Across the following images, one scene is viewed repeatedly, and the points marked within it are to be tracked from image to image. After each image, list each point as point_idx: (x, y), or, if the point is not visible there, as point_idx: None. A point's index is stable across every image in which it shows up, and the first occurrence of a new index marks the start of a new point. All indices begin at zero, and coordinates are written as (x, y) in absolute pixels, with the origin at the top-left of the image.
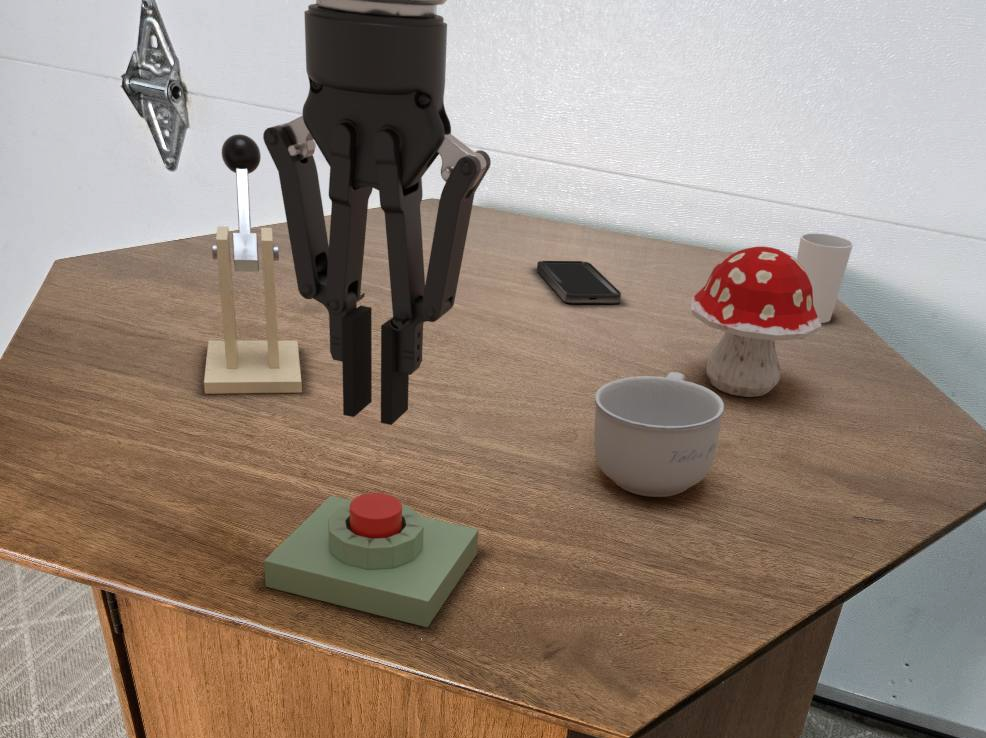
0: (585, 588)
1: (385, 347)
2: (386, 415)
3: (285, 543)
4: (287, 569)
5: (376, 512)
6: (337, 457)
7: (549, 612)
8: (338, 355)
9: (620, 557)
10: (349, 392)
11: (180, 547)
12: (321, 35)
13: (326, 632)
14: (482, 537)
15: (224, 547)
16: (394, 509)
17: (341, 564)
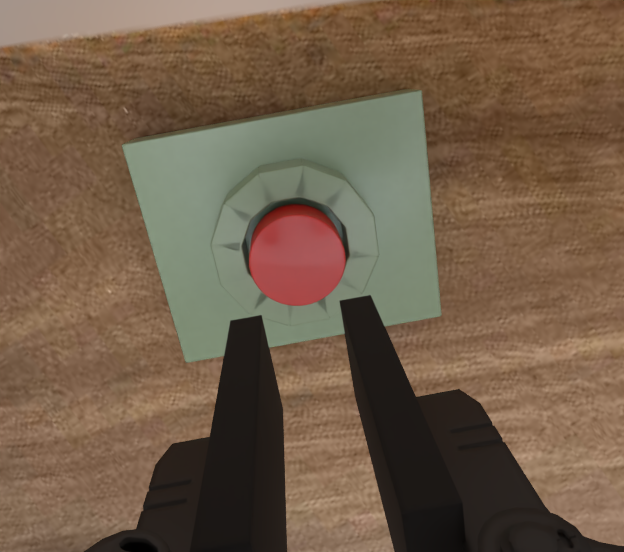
0: (12, 353)
1: (233, 468)
2: (244, 329)
3: (420, 154)
4: (376, 97)
5: (281, 241)
6: (517, 438)
7: (16, 275)
8: (445, 405)
9: (21, 444)
10: (362, 329)
11: (589, 104)
12: None
13: (255, 39)
14: (213, 381)
15: (528, 144)
16: (261, 269)
17: (304, 154)
